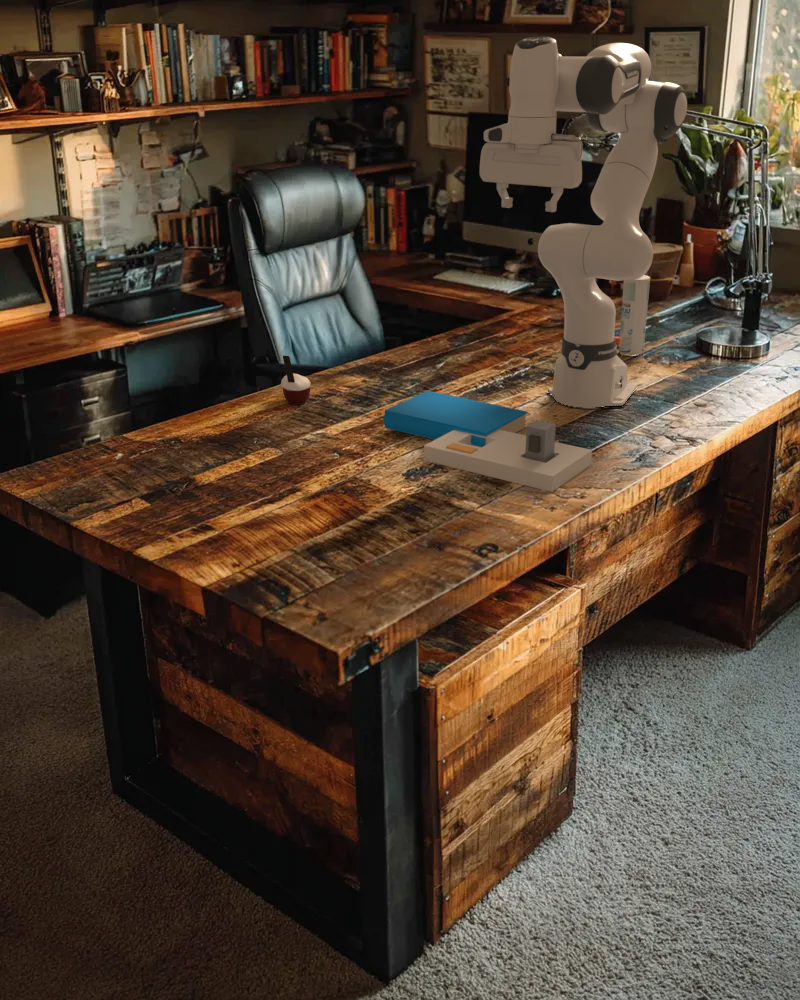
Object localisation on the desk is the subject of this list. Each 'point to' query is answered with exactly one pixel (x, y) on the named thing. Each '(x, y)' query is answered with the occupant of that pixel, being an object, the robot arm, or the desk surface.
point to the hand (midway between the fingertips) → (528, 209)
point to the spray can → (634, 315)
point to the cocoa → (294, 385)
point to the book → (452, 417)
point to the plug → (540, 441)
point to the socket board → (508, 458)
